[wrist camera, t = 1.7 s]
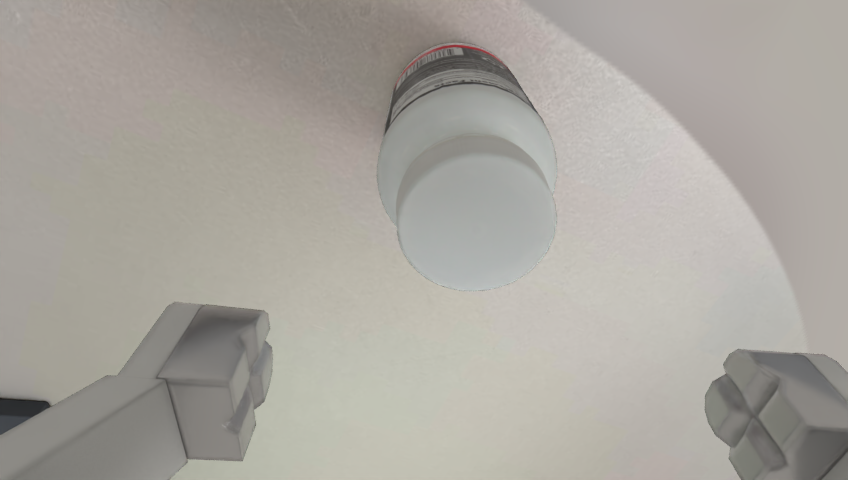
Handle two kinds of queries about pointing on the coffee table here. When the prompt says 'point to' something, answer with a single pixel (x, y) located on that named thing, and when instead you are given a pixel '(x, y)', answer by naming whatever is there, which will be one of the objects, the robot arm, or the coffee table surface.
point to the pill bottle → (467, 170)
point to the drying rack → (18, 412)
